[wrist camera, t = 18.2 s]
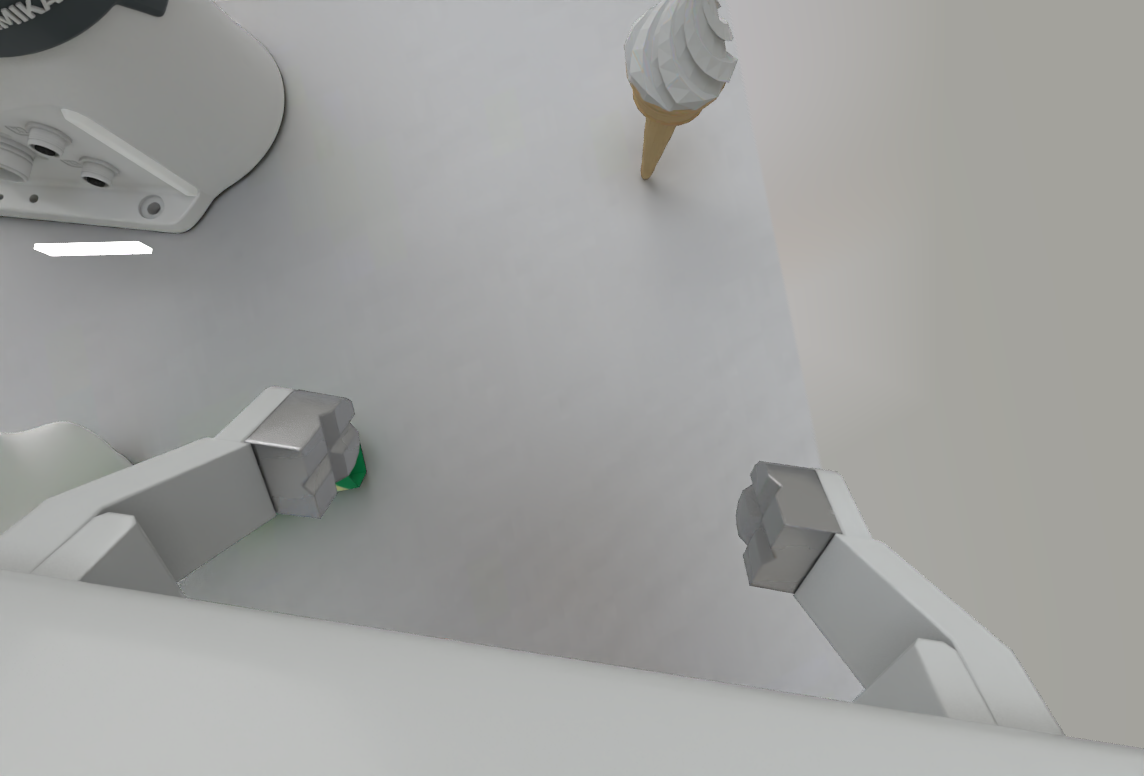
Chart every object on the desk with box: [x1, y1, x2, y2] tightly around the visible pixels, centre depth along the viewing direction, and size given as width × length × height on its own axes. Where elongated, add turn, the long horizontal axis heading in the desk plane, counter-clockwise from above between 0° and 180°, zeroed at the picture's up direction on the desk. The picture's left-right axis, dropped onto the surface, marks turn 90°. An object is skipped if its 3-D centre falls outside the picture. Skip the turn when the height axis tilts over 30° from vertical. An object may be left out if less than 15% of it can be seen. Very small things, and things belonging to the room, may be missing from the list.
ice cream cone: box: [624, 0, 738, 179], centre depth 27 cm, size 6×6×15 cm
